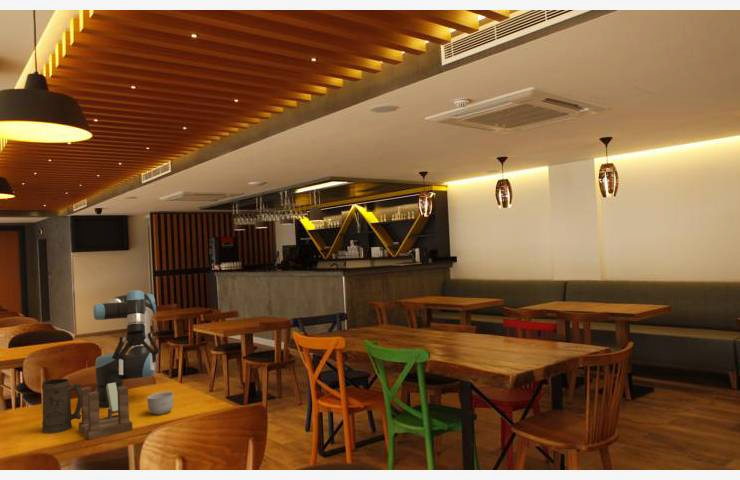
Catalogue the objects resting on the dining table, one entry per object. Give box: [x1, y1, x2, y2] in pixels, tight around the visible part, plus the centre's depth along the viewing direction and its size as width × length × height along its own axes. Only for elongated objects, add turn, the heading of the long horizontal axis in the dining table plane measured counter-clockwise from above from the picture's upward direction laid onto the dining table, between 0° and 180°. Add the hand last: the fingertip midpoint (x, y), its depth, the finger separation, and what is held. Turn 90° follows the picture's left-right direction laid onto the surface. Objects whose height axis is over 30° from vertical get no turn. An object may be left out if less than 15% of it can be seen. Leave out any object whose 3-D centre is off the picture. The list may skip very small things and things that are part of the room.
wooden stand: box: [78, 385, 133, 441], centre depth 231 cm, size 16×16×17 cm
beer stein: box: [41, 378, 82, 434], centre depth 236 cm, size 15×11×20 cm
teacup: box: [146, 391, 174, 416], centre depth 254 cm, size 14×11×8 cm
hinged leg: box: [106, 382, 118, 415], centre depth 241 cm, size 3×3×12 cm
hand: (136, 372), depth 252 cm, fingers open, 13 cm apart
